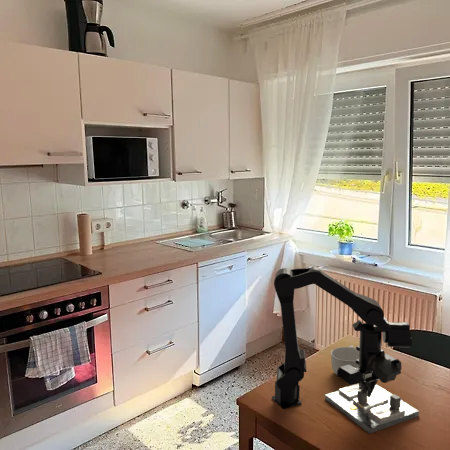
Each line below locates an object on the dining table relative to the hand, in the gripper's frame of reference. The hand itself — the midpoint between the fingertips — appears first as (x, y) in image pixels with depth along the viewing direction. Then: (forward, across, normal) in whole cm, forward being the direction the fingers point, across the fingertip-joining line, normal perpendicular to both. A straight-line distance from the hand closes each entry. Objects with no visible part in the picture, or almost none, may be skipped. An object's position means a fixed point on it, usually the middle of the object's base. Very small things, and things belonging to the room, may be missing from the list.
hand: (368, 396), depth 120 cm
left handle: (+1, +4, +6) cm, 7 cm away
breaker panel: (+4, +1, 0) cm, 4 cm away
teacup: (+4, +9, +18) cm, 20 cm away
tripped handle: (+1, -2, 0) cm, 2 cm away
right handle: (+1, +4, -6) cm, 7 cm away
